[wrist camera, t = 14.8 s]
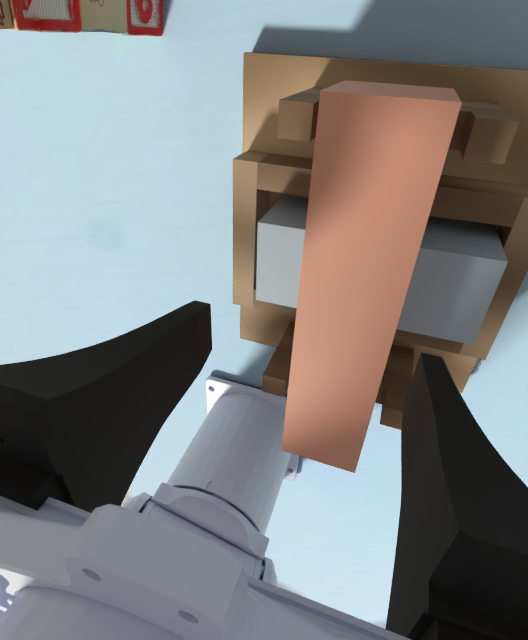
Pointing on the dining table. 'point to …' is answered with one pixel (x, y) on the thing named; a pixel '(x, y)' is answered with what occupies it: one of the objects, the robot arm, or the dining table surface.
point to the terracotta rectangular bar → (360, 254)
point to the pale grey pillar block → (427, 278)
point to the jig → (449, 202)
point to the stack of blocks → (83, 16)
